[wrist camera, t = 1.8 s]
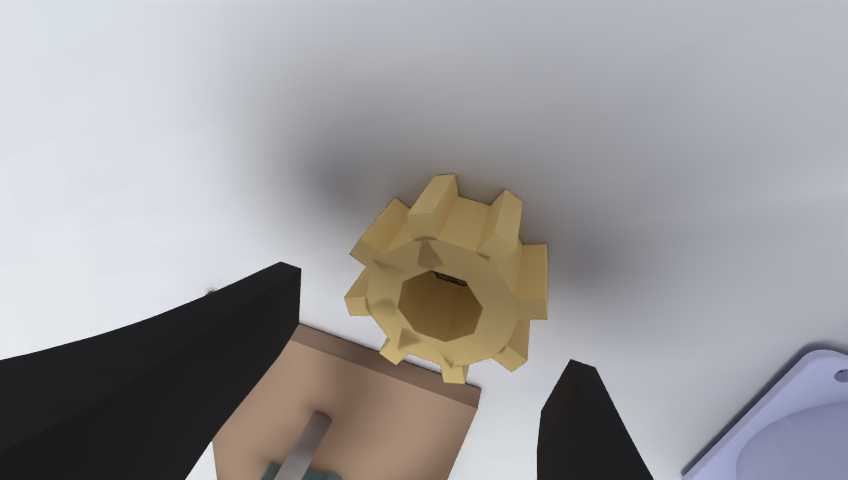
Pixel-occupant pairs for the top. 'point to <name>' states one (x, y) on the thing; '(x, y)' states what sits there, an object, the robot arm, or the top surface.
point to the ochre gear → (444, 301)
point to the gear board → (344, 418)
